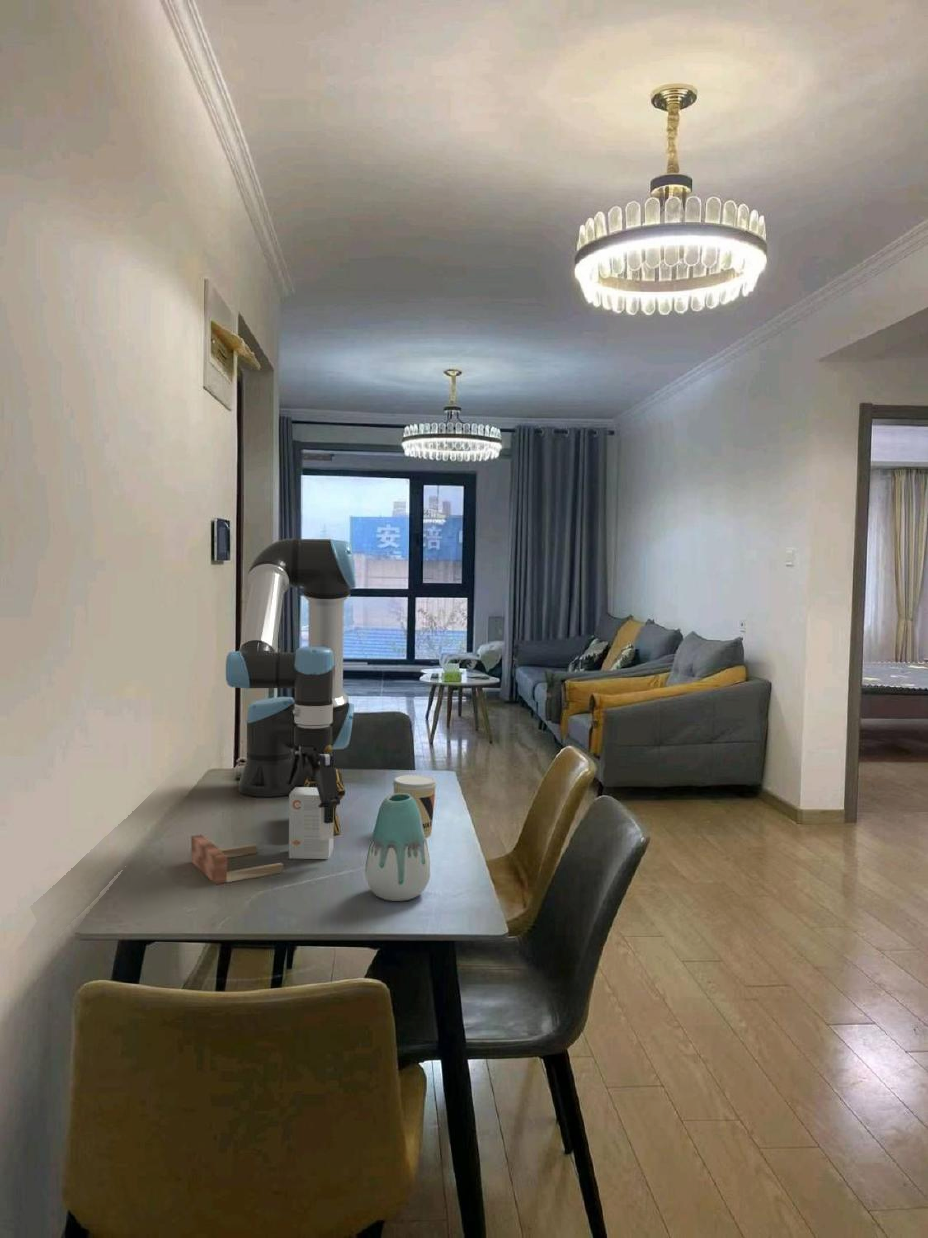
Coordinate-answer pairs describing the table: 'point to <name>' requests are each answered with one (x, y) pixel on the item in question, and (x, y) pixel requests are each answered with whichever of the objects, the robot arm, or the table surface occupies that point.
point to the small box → (306, 826)
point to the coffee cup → (419, 796)
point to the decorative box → (311, 783)
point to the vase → (398, 851)
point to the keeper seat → (216, 861)
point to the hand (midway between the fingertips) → (311, 830)
